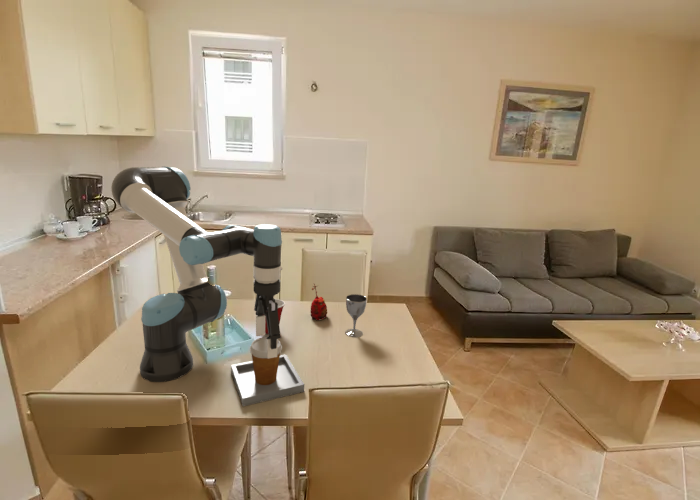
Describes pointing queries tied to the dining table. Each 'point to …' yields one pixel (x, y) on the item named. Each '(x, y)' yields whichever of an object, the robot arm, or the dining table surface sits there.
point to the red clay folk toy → (318, 307)
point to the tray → (256, 393)
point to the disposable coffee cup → (264, 362)
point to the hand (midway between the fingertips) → (266, 345)
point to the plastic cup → (280, 308)
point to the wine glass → (355, 312)
